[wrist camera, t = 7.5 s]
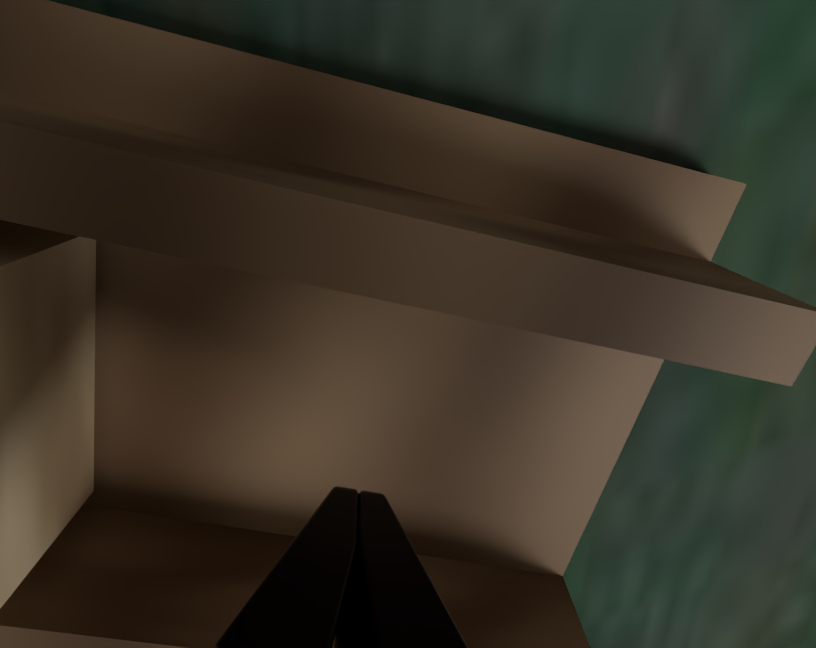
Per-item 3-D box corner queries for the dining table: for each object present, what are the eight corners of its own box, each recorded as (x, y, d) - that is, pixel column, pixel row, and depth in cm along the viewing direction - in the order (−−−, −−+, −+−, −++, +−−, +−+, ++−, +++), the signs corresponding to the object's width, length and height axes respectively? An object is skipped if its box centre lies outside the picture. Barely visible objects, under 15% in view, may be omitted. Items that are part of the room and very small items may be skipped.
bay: (714, 178, 10) (931, 217, 6) (520, 614, 15) (571, 802, 11) (-337, -98, 8) (-1098, -327, 4) (-185, 517, 13) (-462, 710, 9)
